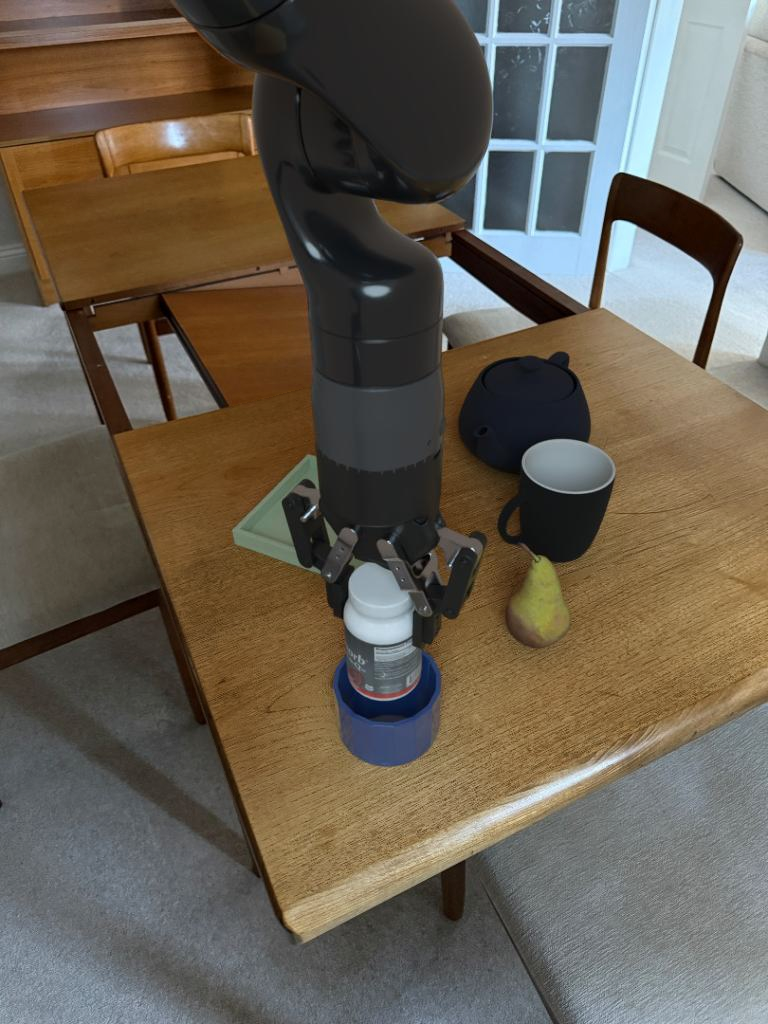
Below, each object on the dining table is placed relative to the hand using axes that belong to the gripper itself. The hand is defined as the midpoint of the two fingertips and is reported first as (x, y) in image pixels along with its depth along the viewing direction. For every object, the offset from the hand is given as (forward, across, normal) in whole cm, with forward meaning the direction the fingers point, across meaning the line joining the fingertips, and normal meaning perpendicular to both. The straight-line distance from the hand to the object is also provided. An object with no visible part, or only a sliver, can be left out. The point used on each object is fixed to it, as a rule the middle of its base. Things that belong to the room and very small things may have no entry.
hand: (383, 624), depth 53 cm
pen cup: (+12, 0, 0) cm, 12 cm away
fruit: (+12, +8, +14) cm, 20 cm away
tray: (+12, -17, +20) cm, 29 cm away
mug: (+12, +5, +26) cm, 29 cm away
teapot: (+12, -3, +41) cm, 43 cm away
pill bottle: (+6, 0, 0) cm, 6 cm away
